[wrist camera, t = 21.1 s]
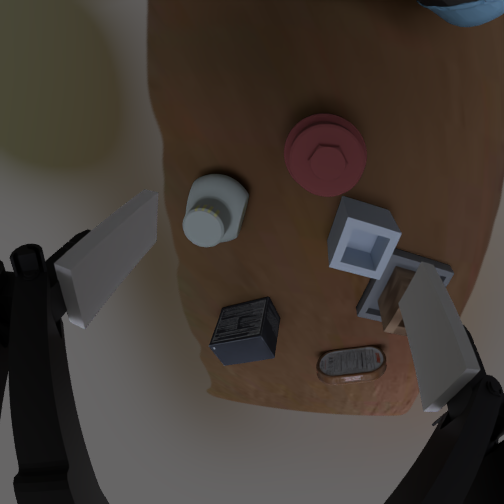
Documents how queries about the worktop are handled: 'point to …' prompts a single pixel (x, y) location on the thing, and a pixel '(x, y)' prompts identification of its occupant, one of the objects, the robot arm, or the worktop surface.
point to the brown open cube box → (394, 300)
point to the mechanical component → (325, 154)
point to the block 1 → (362, 238)
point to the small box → (246, 332)
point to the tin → (351, 365)
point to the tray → (375, 287)
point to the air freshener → (214, 210)
